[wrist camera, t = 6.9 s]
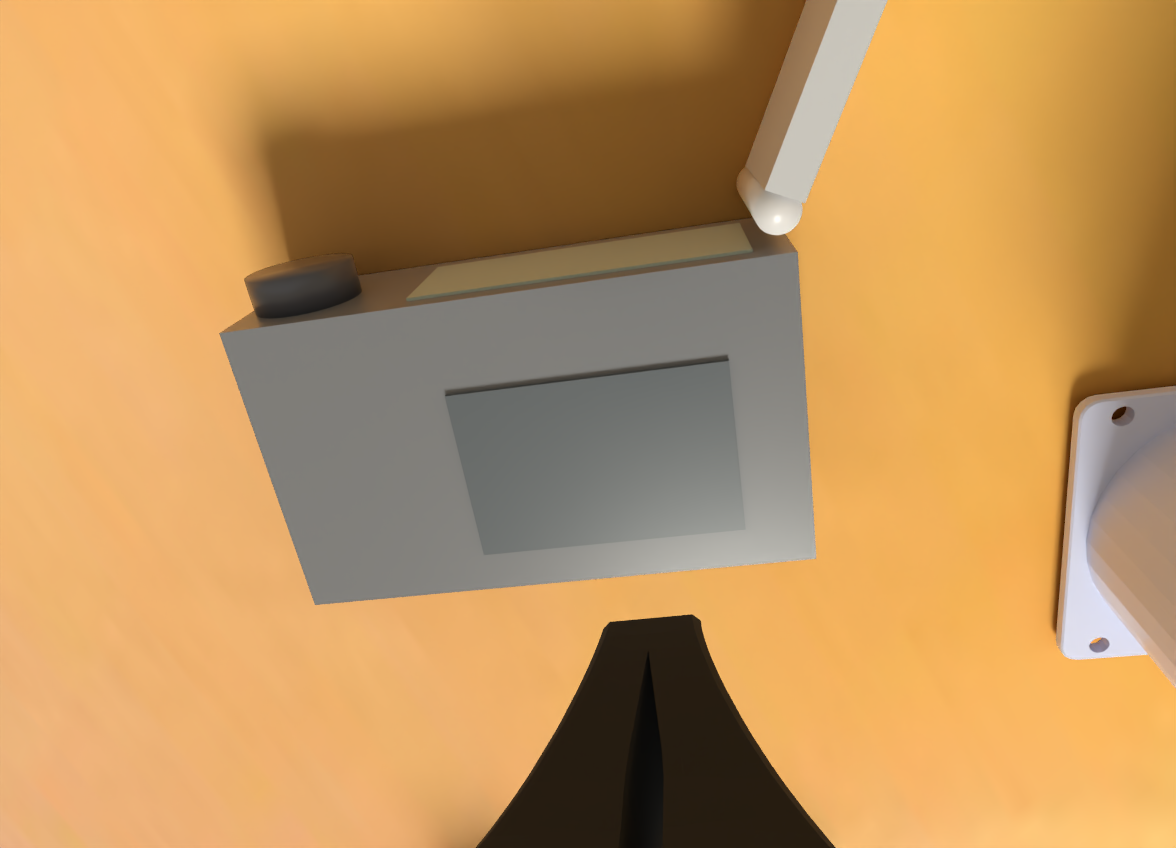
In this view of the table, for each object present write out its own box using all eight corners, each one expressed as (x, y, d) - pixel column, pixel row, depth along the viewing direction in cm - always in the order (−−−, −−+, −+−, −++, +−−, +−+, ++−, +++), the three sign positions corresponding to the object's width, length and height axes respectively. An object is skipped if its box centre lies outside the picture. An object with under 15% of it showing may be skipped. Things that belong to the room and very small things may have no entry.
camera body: (768, 179, 19) (795, 211, 16) (790, 475, 22) (816, 561, 19) (284, 253, 21) (204, 298, 17) (367, 520, 24) (313, 607, 20)
